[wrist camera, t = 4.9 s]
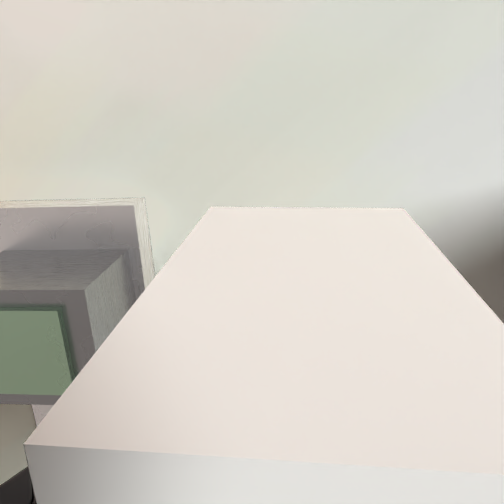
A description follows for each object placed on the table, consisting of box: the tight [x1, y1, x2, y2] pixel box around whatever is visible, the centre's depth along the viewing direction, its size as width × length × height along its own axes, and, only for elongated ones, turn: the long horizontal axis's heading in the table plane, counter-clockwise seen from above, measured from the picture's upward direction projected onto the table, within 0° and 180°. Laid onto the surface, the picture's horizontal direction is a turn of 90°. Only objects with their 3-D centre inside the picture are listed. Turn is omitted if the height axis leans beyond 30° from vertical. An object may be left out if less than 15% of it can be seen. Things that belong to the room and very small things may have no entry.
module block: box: [23, 207, 504, 504], centre depth 7 cm, size 4×6×7 cm, turn 1°
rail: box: [0, 198, 155, 426], centre depth 22 cm, size 7×22×6 cm, turn 3°
